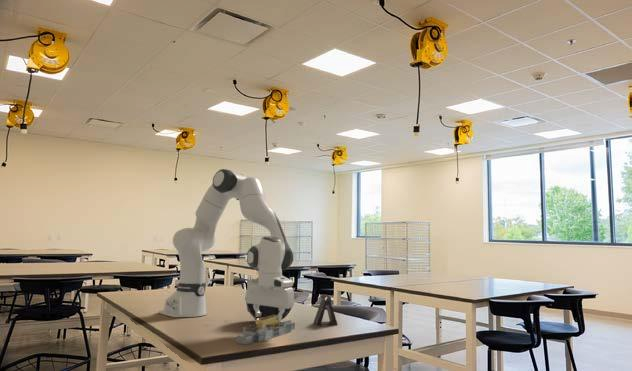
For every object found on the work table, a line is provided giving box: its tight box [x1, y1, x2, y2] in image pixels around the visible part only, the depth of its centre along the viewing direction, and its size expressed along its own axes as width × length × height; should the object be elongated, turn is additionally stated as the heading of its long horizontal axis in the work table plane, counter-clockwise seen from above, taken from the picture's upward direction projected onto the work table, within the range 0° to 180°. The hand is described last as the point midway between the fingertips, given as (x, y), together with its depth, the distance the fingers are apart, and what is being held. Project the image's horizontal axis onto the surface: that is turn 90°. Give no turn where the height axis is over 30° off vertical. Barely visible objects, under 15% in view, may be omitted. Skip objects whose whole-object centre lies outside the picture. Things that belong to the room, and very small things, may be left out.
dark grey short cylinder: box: [244, 277, 292, 322], centre depth 179 cm, size 11×20×20 cm, turn 78°
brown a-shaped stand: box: [313, 293, 339, 326], centre depth 180 cm, size 9×6×12 cm, turn 103°
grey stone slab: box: [236, 319, 296, 346], centre depth 156 cm, size 30×7×4 cm, turn 149°
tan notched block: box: [255, 315, 281, 329], centre depth 156 cm, size 11×3×6 cm, turn 149°
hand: (268, 318), depth 157 cm, fingers open, 8 cm apart
